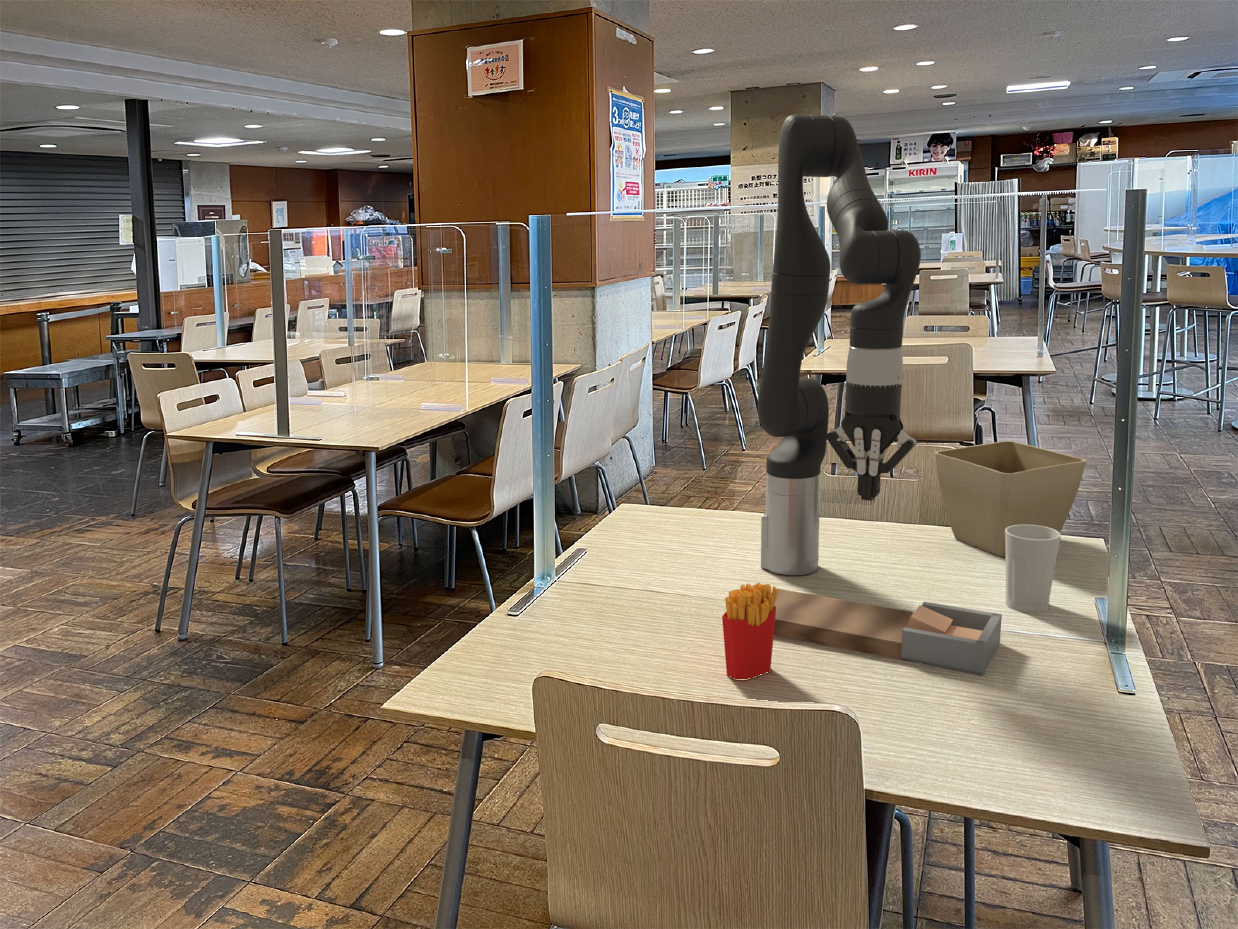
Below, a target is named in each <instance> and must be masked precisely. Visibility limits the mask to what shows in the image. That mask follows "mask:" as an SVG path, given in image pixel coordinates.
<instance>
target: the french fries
mask: <svg viewBox="0 0 1238 929" xmlns="http://www.w3.org/2000/svg"><path fill="white" fill-rule="evenodd" d="M778 589H779V588H777V586H775V585H774V586H771V584H770V583H765V584H762V583H761V582H757V583H755V584H753V585H751V584H750V583H745V584H740V588H738V589H732V590H731V591H728V596H727V597H725V598H724V600H725V601H724V602H725V610H726V611H725V612H724V613H723V614H722V616H721V620H722V631H723V633H722V634H723V645H724V646H723V647H724V654H725V671H726V676H727V675H729V676H731V677H732V678H731V677H730V678H731V679H733V678H735V679H748V678H753V677H755V676H758V675H760V674H764V673H766V672H769V673H770V671H771V666H772V657H773V646H774V636H775V635H774V626H775V615H776V606H774V605H775V601H776V597H777V593H778ZM764 675H765V674H764ZM729 676H728V677H729ZM753 679H754V678H753Z"/></svg>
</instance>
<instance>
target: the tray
mask: <svg viewBox="0 0 1238 929" xmlns="http://www.w3.org/2000/svg"><path fill="white" fill-rule="evenodd" d="M921 606H923V607H926V608H928V609H930V610H932V611H935V612H937V613H939V614H941V615H944V616H946V617H948V618H951V619H953V622H952V624H951V625H953V626H958V627H964V628H970V629H975V630H981V631H982V633H981V635H980V637H979V638H978V640H973V639H968V638H962V637H957V636H951V635H946V634H940V633H934V632H929V631H923V630H918V629H912V628H907V627H904V629H903V630H902V646H901V661H906V662H910V663H915V664H916V663H917V664H921V665H925V666H926V665H927V666H931V667H936V668H942V669H945V670H952V671H956V672H962V673H967V674H972V675H978V676H984V674H985V672H986V671H987V669H988V667H989V665H990V663H991V661H992V659H993V657H994V655H995V653H996V652H997V649H998V648H999V645H1000V643H1001V631H1002V616H1003V614H1002V613H995V612H991V611H990V612H989V611H985V610H984V611H983V610H978V609H977V610H976V609H971V608H965V607H959V606H953V605H947V604H943V603H942V604H940V603H936V602H929V601H923V602H922V604H921Z"/></svg>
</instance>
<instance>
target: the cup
mask: <svg viewBox="0 0 1238 929" xmlns="http://www.w3.org/2000/svg"><path fill="white" fill-rule="evenodd" d="M1060 541H1061V532H1060V533H1059V532H1058V531H1057V530H1054V529H1052V528H1048V527H1044V526H1038V525H1013V526H1009V527H1007V528H1006V529H1005V549H1006V556H1005V605H1006V607H1007V608H1010V609H1011V610H1015V611H1017V612H1021V613H1023V612H1024V613H1031V614H1035V613H1037V614H1038V613H1039V614H1040V613H1044V612H1046V611H1048V610H1049V606H1050V597H1051V592H1052V586H1053V580H1054V575H1055V569H1056V562H1057V557H1058V552H1059V546H1060Z"/></svg>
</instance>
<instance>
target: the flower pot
mask: <svg viewBox="0 0 1238 929" xmlns="http://www.w3.org/2000/svg"><path fill="white" fill-rule="evenodd" d="M934 462H935V468H936V475H937V481H938V485H939V490H940V494H941V498H942V503H943V507H944V509H945V513H946V517H947V519H948V522H949V525H950V529H951V531H952V534H953V536H954V538H955V539H956V540H959V541H960V542H963V543H965V544H969V545H970V546H973V547H976V548H978V549H980V550H982V551H984V552H987V553H989V554H993V555H995V556H997V557H1006V549H1005V529H1006V528H1007V527H1009V526H1013V525H1038V526H1044V527H1048V528H1052V529H1054V530H1057V531H1058V532H1059V533H1060V534H1061V532H1062V529H1063V527H1064V525H1065V524H1066V521H1067V518H1068V517H1069V515H1070V513H1071V510H1072V507H1073V504H1074V502H1075V500H1076V496H1077V494H1078V492H1079V488H1080V486H1081V485H1080V484H1081V483H1082V478H1083V476H1084V472H1085V468H1086V465H1087V460H1086V459H1085V458H1080V457H1077V456H1073V455H1069V454H1065V453H1061V452H1057V451H1054V450H1050V449H1045V448H1042V447H1037V446H1035V445H1030V444H1026V443H1023V442H1019V441H1018V442H1017V441H1015V440H1003V441H1002V440H1001V441H996V442H990V443H984V444H977V445H969V446H963V447H956V448H951V449H944V450H943V449H942V450H936V451H934Z"/></svg>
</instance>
